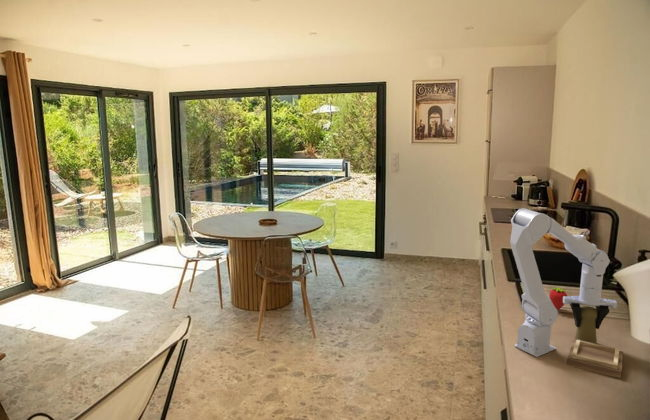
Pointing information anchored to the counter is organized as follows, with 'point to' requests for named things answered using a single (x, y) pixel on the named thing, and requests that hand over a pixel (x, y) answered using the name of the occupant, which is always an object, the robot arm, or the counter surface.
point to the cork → (587, 325)
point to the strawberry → (557, 297)
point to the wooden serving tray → (595, 358)
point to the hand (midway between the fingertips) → (586, 326)
